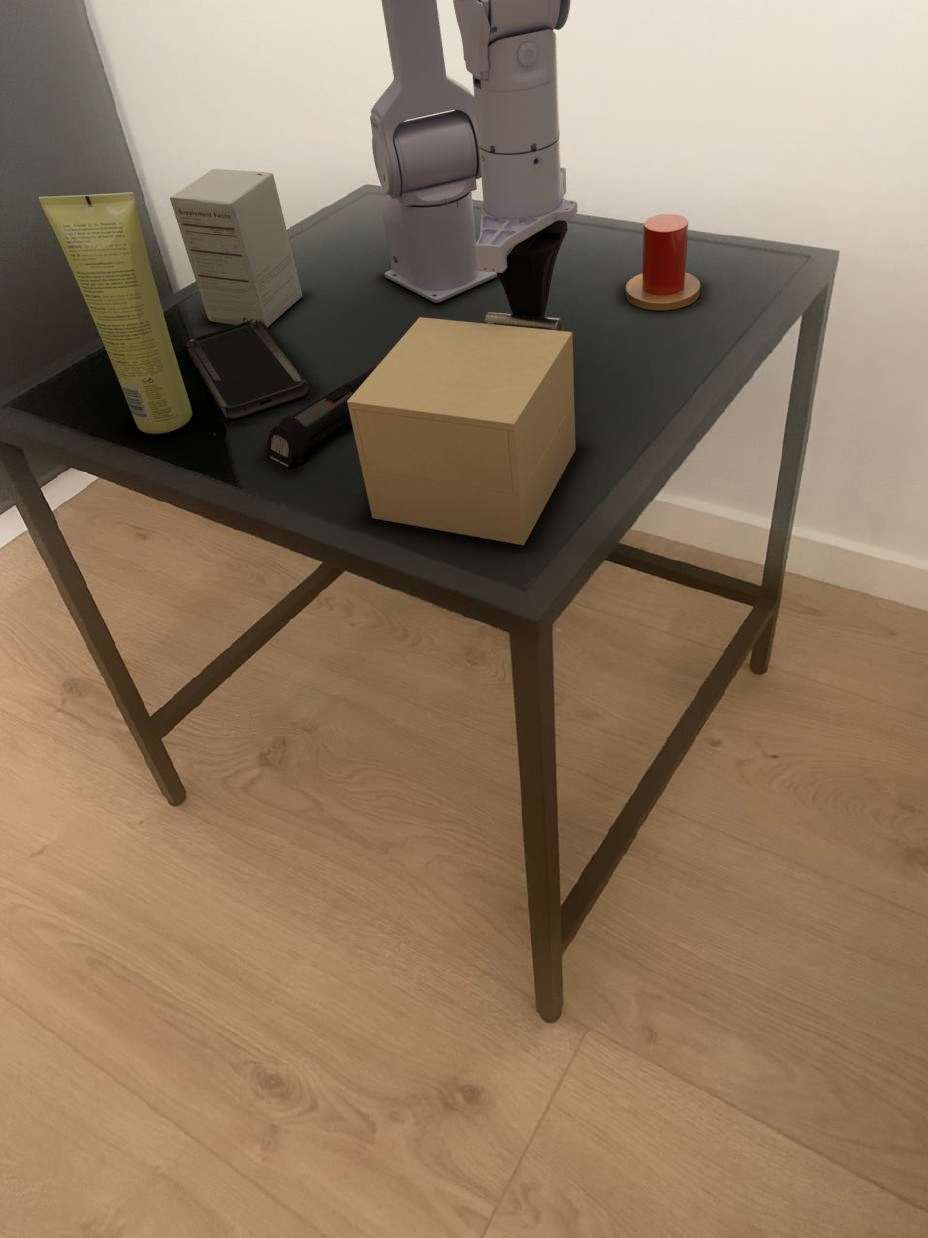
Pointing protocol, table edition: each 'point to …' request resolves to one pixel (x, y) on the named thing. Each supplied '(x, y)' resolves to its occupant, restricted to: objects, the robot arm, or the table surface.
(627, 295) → the cork coaster
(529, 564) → the table surface
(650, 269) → the red upright cylinder
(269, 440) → the electric trimmer
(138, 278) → the tube
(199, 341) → the phone
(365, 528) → the table surface
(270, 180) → the white packaging box
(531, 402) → the little tan box
